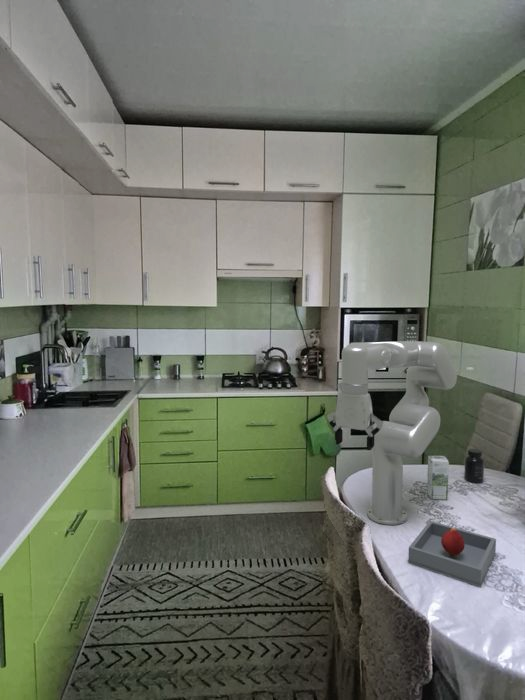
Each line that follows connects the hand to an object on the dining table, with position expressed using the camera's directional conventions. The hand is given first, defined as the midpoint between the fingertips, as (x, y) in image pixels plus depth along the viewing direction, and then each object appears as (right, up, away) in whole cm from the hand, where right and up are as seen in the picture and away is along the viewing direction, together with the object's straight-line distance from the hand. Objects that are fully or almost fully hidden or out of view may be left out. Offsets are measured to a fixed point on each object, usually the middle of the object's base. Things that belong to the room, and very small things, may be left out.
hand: (354, 446), depth 134 cm
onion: (+25, -28, -10) cm, 39 cm away
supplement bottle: (+55, -23, +43) cm, 73 cm away
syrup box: (+36, -25, +29) cm, 52 cm away
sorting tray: (+25, -29, -9) cm, 39 cm away
